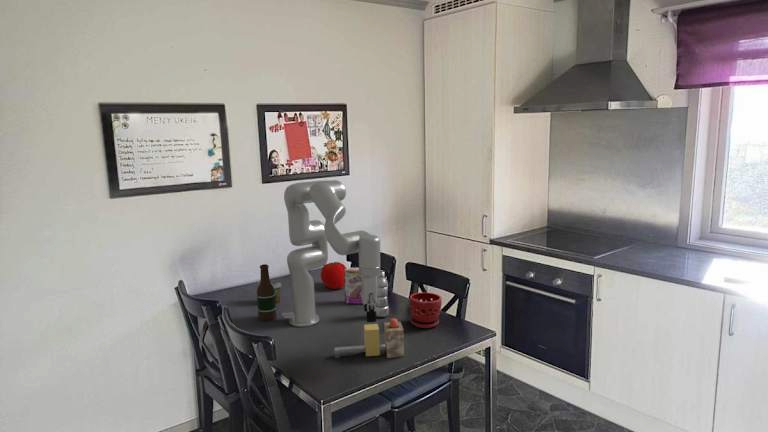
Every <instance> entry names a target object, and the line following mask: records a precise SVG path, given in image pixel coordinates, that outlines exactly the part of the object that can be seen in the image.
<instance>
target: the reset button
mask: <svg viewBox="0 0 768 432" xmlns="http://www.w3.org/2000/svg"><path fill="white" fill-rule="evenodd" d="M389 322H390V328H398V323H397V322H398V318H395V317H393V318H392V317H391V318H389Z"/></svg>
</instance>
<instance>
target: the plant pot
mask: <svg viewBox="0 0 768 432" xmlns="http://www.w3.org/2000/svg"><path fill="white" fill-rule="evenodd" d="M442 300H443V299H442V296H441V295H439V294H437V293H433V292H425V291H424V292H423V291H422V292H416V293H412V294H410V296H409V302H408V303H409V312H410V315H411V319H410V323H411V324H412V326H415V327H417V328H421V329H430V328H434V327H437V325H438V324H439V323H440V320H439V316H440V314H441V310H442V303H443V301H442Z"/></svg>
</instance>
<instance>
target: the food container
mask: <svg viewBox="0 0 768 432" xmlns="http://www.w3.org/2000/svg"><path fill="white" fill-rule="evenodd" d="M260 281H261V279H260V280H258V282H257V286H256V287H257V288H258V286H259V285H260ZM270 283H271V284H272V286H273V287H274V290H275V298H276V305H277V304H279V303H281V288H282V283H281V282H277V283H275V282H272V281H270Z"/></svg>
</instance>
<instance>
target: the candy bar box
mask: <svg viewBox="0 0 768 432" xmlns="http://www.w3.org/2000/svg"><path fill="white" fill-rule="evenodd" d="M344 275H345V286H344V304H345V305H347V304H349V305H364V304H363V302H362V298H361V280H362V277H361V276H360V275H359V267H346V269H345V270H344Z"/></svg>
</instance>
